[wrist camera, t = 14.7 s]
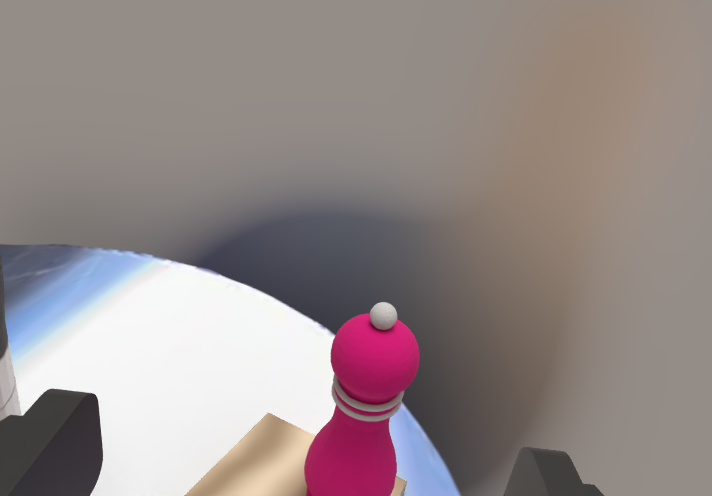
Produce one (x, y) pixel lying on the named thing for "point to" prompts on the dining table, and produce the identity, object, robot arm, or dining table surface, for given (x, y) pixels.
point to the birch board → (265, 464)
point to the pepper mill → (363, 407)
